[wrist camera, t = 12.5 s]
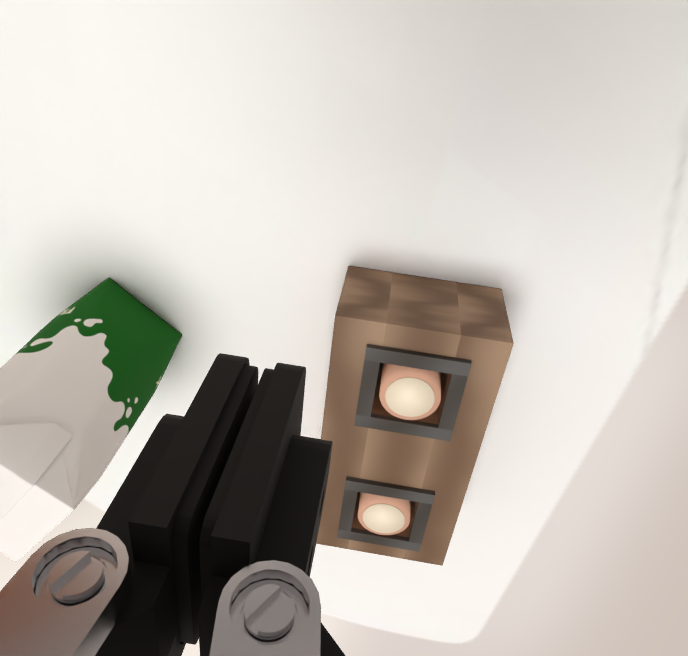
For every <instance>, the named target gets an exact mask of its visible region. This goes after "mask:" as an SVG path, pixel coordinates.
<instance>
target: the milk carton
mask: <svg viewBox="0 0 688 656" xmlns="http://www.w3.org/2000/svg"><path fill="white" fill-rule="evenodd" d="M181 336H182V334H180V333H179V332H178V331H176V330H175V329H174V328H173V327H171V326H170V325H169V324H168V323H166V322H165V321H164V320H162V319H161V318H160V317H159V316H157V315H156V314H155V313H154V312H152V311H151V310H150V309H148V308H147V307H146V306H145V305H143V304H142V303H141V302H140V301H138V300H137V299H136V298H134V297H133V296H132V295H131V294H129V293H128V292H127V291H125V290H124V289H123V288H122V287H120V286H119V285H118V284H117V283H115V282H114V281H113V280H111V279H110V278H108V279H106V280H105V281H104V282H102V283H101V284H100V285H98V286H97V287H96V288H94V289H93V290H91V291H90V292H89V293H87V294H86V295H85V296H83V297H82V298H81V299H79V300H78V301H77V302H75V303H74V304H72V305H71V306H70V307H68V308H67V309H66V310H64V311H63V312H62V313H60V314H59V315H58V316H57V317H55V318H54V319H53V320H52V321H51V322H50V323H49V324H47V325H46V326H45V327H44V328H43V329H42V330H41V331H40V332H38V333H37V334H36V335H35V336H34V337H33V338H32V339H31V340H30V341H29V342H28V343H27V344H26V345H25V346H24V347H23V348H22V349H20V350H19V351H18V352H17V353H16V354H15V355H14V356H13V357H12V358H11V359H10V360H9V361H8V362H7V363H6V364H5V365H4V366H3V367H1V368H0V553H2V554H3V555H5V556H7V557H8V558H10V559H12V560H14V561H15V562H17V561H18V560H19V559H21V557H23V556H24V555H25V554H26V553H27V552H28V551H29V550H31V549H32V548H33V547H34V546H35V545H36V544H37V543H38V542H39V541H40V540H42V539H43V538H44V537H45V536H46V535H47V534H48V533H49V532H51V531H52V530H53V529H54V528H55V527H56V526H57V525H58V524H59V523H60V522H62V521H63V520H64V519H65V518H66V517H67V516H68V515H69V514H70V513H72V512H73V511H74V510H75V508H76V507H77V506H78V504H79V503H80V502H81V501H82V500H83V498H84V497H85V496H86V495H87V493H88V492H89V491H90V490H91V489H92V487H93V486H94V485H95V484H96V482H97V481H98V480H99V478H100V477H101V476H102V474H103V472H104V471H105V469H106V468H107V466H108V465H109V463H110V462H111V460H112V458H113V457H114V455H115V454H116V452H117V451H118V449H119V448H120V446H121V444H122V443H123V441H124V440H125V438H126V437H127V435H128V433H129V432H130V430H131V429H132V427H133V426H134V424H135V422H136V421H137V419H138V418H139V416H140V415H141V413H142V411H143V410H144V408H145V407H146V405H147V404H148V402H149V400H150V399H151V397H152V396H153V394H154V392H155V390H156V389H157V387H158V385H159V383H160V380H161V378H162V376H163V374H164V372H165V370H166V368H167V366H168V364H169V361H170V359H171V357H172V355H173V353H174V351H175V349H176V347H177V345H178V342H179V340H180V338H181Z"/></svg>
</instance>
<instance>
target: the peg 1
mask: <svg viewBox="0 0 688 656" xmlns="http://www.w3.org/2000/svg"><path fill="white" fill-rule="evenodd" d="M379 397H380V401H381V404H382V406H383V407H384V408H385V410H386V411H387V412H389V413H390V414H391V415H393V416H395V417H397V418H401V419H405V420H418V419H422V418H425V417H427V416H429V415H431V414H432V413H433V412H434V411H435V410H436V409H437V408H438V406H439V404H440V401H441V381H440V372H436V371H430V370H423V369H417V368H411V367H405V366H398V365H392V364H386V363H383V367H382V376H381V384H380V393H379Z"/></svg>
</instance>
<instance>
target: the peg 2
mask: <svg viewBox="0 0 688 656" xmlns="http://www.w3.org/2000/svg"><path fill="white" fill-rule="evenodd" d="M410 508H411V501H409V500H403V499H397V498H391V497H385V496H380V495H374V494H368V493H362V492H361V494H360V501H359V509H358V520H359V522H360V523H361V525H362V526H363V527H364V528H365V529H367V530H369V531H370V532H373V533H376V534H380V535H394V534H397V533H400V532H402V531H404V530H405V529H406V528H407V527H408V525H409V523H410Z"/></svg>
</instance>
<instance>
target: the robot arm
mask: <svg viewBox="0 0 688 656" xmlns="http://www.w3.org/2000/svg"><path fill="white" fill-rule="evenodd" d="M305 377H306V368H305V367H302V366H295V365H289V364H283V363H277V364H276V366H275V369H274V370H273V369H267V368H266V369H265V370H264V372H263V374H262V377H261V379H260V382H259V384H258V367H255V366H249V359H248V358H246V357H240V356H233V355H227V354H221V353H220V354H218V356H217V357H216V359H215V361H214V363H213V364H212V366H211V368H210V370H209V372H208V374H207V376H206V377H205V379H204V381H203V383H202V385H201V387H200V389H199V390H198V392H197V394H196V396H195V398H194V400H193V402H192V403H191V405H190V407H189V409H188V411H187V413H186V415H185V416H178V415H172V414H166V415H164V416H163V417H162V419H161V420H160V421H159V423H158V425H157V426H156V428H155V430H154V431H153V433H152V435H151V436H150V438H149V440H148V442H147V443H146V445H145V447H144V448H143V450H142V452H141V453H140V455H139V457H138V459H137V460H136V462H135V464H134V465H133V467H132V469H131V470H130V472H129V474H128V476H127V477H126V479H125V481H124V482H123V484H122V486H121V487H120V489H119V491H118V493H117V494H116V496H115V498H114V499H113V501H112V503H111V504H110V506H109V508H108V509H107V511H106V513H105V515H104V516H103V518H102V520H101V522H100V523H99V525H98V526H97V528H96V529H94V528H86V529H75V530H72V531H70V532H66V533H63V534H60V535H58V536H56V537H55V538H53V539H51V540H49V541H48V542H46V543H45V544H43V545H42V546H41V547H40V548H39V549H38V550H37V551H36V552H35V553H33V554H32V555H31V556H30V558H29V559H28V560H27V561H26V562H25V564H24V565H23V566H22V567H21V568H20V569H19V570H18V572H17V573H16V574H15V575H14V576H13V577H12V578H11V580H10V581H9V582H8V583H7V584H6V585H5V587H4V588H3V589H2V590H1V591H0V656H181V655H182V652H183V650H184V647H185V644H186V643H189V644H196V643H197V641H198V639H199V643H200V656H345V655H344V653H343V652H342V650H341V649H340V648H339V646H338V645H337V644H336V642H335V641H334V639H333V638H332V637H331V635H330V634H329V633H328V631H327V630H326V629H325V627H324V626H323V625H322V623H321V605H320V598H319V592H318V590H317V589H316V587H315V585H314V583H313V581H312V579H311V578H310V572H311V567H312V562H313V557H314V551H315V546H316V541H317V536H318V531H319V526H320V521H321V516H322V510H323V505H324V499H325V494H326V488H327V481H328V475H329V468H330V460H331V452H332V443H333V442H332V441H327V440H321V439H315V438H309V437H303V436H300V433H301V422H302V411H303V399H304V388H305Z"/></svg>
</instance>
